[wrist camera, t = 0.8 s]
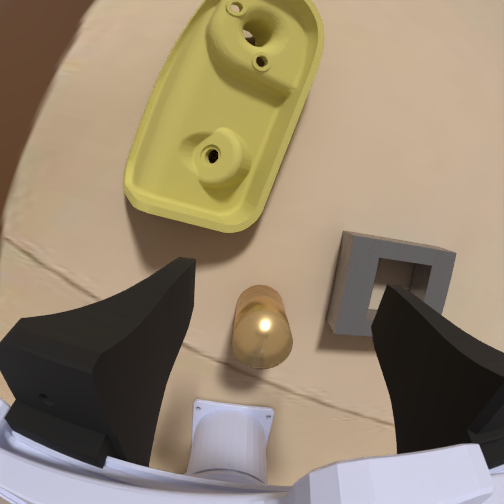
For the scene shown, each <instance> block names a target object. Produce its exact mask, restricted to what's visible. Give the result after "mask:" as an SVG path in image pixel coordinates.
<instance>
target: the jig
mask: <svg viewBox="0 0 504 504" xmlns="http://www.w3.org/2000/svg"><path fill="white" fill-rule="evenodd" d="M455 257H456V253H455V252H452V251H449V250H446V249H443V248H440V247H436V246H430V245H425V244H419V243H413V242H408V241H402V240H396V239H390V238H385V237H379V236H373V235H366V234H360V233H354V232H348V231H343V236H342V242H341V248H340V254H339V259H338V265H337V270H336V275H335V280H334V285H333V290H332V295H331V300H330V305H329V310H328V314H327V319H326V321H327V322H328V324H329V326H330V328H331V330H332V331H333V333H334V334H340V335H354V336H370V337H372V330H371V325H372V323H373V320H374V318H375V315H376V313H377V310H372V309H368V307H369V303H370V298H371V294H372V290H373V285H374V281H375V276H376V271H377V266H378V261H379V258H384V259H391V260H398V261H405V262H411V263H415V267H414V272H413V276H412V280H411V285H410V289H409V291H410V292H411V293H413V294H414V295H416V296H417V297H418V298H420V299H421V300H422V301H423V302H425V303H426V304H427V305H429V306H430V307H431V308H433V309H434V310H435V311H436V312H438V313H439V314H440V315H441V314H442V311H443V307H444V304H445V300H446V296H447V292H448V288H449V284H450V280H451V276H452V271H453V267H454V262H455Z"/></svg>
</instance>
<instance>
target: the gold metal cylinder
mask: <svg viewBox="0 0 504 504" xmlns="http://www.w3.org/2000/svg"><path fill="white" fill-rule="evenodd" d="M292 345H293V339H292V334H291V330H290V327H289V323H288V319H287V316H286V312H285V308H284V305H283V301H282V298H281V296H280V295H279V293H278V292H277V291H275V290H274V289H273V288H271V287H268V286H264V285H256V286H252V287H250V288H248V289H246V290H245V291H244V292H243V293H242V294H241V295H240V297H239V299H238V301H237V307H236V314H235V322H234V329H233V336H232V348H233V352H234V354H235V356H236V357H237V358H238V360H239V361H241V362H242V363H243V364H245V365H246V366H248V367H251V368H255V369H269V368H272V367H275V366H277V365H279V364H281V363H282V362H283V361H284V360H285V359H286V358H287V357H288V356H289V354H290V352H291V349H292Z"/></svg>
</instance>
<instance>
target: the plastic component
mask: <svg viewBox="0 0 504 504" xmlns="http://www.w3.org/2000/svg"><path fill="white" fill-rule="evenodd" d="M232 4H234V5H237V6H238V7H239V9H240V11H239V12H234V11H232V9H231V8H230V7H231V5H232ZM243 30H246V31H248V32H250V33H251V34H252V35H253V36H254V39H255V46H253V45H251V44H250V43H248V42H247V41H246V39H245V38H244V35H243ZM323 47H324V27H323V22H322V19H321V16H320V14H319V12H318V10H317V8H316V7H315V5H314V3H313V2H312V1H311V0H204V1H203V3H202V4H201V5H200V7H199V8H198V9H197V11H196V12H195V13H194V15H193V16H192V18H191V19H190V21H189V22H188V24H187V25H186V27H185V28H184V30H183V31H182V33H181V35H180V36H179V38H178V40H177V41H176V43H175V45H174V47H173V48H172V50H171V52H170V54H169V56H168V58H167V60H166V62H165V64H164V66H163V68H162V70H161V72H160V74H159V76H158V78H157V81H156V83H155V85H154V88H153V90H152V93H151V95H150V98H149V100H148V103H147V105H146V108H145V110H144V113H143V116H142V118H141V121H140V124H139V127H138V130H137V132H136V135H135V138H134V141H133V144H132V147H131V150H130V153H129V156H128V159H127V162H126V167H125V171H124V177H123V192H124V193H125V195H126V196H127V198H128V200H129V201H130V203H131V204H132V206H133V207H135V208H136V209H138V210H140V211H143V212H146V213H149V214H153V215H157V216H161V217H165V218H169V219H173V220H177V221H181V222H185V223H189V224H193V225H197V226H200V227H204V228H208V229H212V230H216V231H220V232H224V233H235V232H239V231H242V230H244V229H246V228H248V227H250V226H251V225H252V224H253V223H254V222H255V221H256V220H257V219H258V218H259V216H260V215H261V213H262V211H263V209H264V206H265V204H266V201H267V198H268V196H269V193H270V191H271V188H272V186H273V183H274V180H275V178H276V175H277V173H278V170H279V168H280V165H281V162H282V160H283V157H284V155H285V152H286V150H287V147H288V144H289V142H290V139H291V137H292V134H293V132H294V129H295V126H296V124H297V121H298V119H299V116H300V114H301V111H302V109H303V106H304V103H305V101H306V98H307V96H308V93H309V91H310V88H311V86H312V83H313V80H314V77H315V75H316V72H317V69H318V66H319V63H320V60H321V56H322V52H323ZM257 57H260V58H262V59H263V61H264V66H263V67H259V66H258V65H257V63H256V59H257ZM213 150H216V151H217V152H218V159H217V161H216V162H215V163H212V164H211V163H210V162H209V160H208V156H209V154H210V152H211V151H213Z"/></svg>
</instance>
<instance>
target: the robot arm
mask: <svg viewBox="0 0 504 504" xmlns="http://www.w3.org/2000/svg"><path fill="white" fill-rule="evenodd" d="M195 267H196V259H190V258H183V257H179V258H177V259H175V260H174V261H172V262H171V263H169V264H168V265H166V266H165V267H163V268H162V269H160V270H159V271H157V272H156V273H154V274H153V275H151V276H150V277H148V278H146V279H144V280H143V281H141V282H139V283H137V284H136V285H134V286H132V287H130V288H129V289H127V290H125V291H123V292H121V293H119V294H116V295H114V296H112V297H109V298H107V299H105V300H102V301H99V302H96V303H93V304H90V305H87V306H84V307H81V308H78V309H74V310H70V311H66V312H61V313H56V314H51V315H44V316H36V317H28V318H21V319H20V320H19V321H18V322H17V323H16V324H15V326H14V327H13V328H12V329H11V330H10V331H9V332H8V334H7V335H6V336H5V337H4V338H3V339H2V341H1V342H0V371H1V373H2V375H3V377H4V379H5V380H6V382H7V384H8V386H9V388H10V390H11V391H12V393H13V395H14V397H15V399H16V400H15V402H14V403H13V405H12V406H11V407H10V405H8V404H7V403H6V402H5V401H4V400H2V399H1V398H0V497H2V498H3V499H5V500H7V501H8V502H10V503H11V504H504V353H503V352H501V351H499V350H497V349H495V348H493V347H491V346H489V345H487V344H485V343H483V342H481V341H479V340H477V339H476V338H474V337H472V336H471V335H469V334H468V333H466V332H464V331H463V330H461V329H460V328H458V327H457V326H455V325H454V324H453V323H451V322H450V321H448V320H447V319H446V318H444V317H443V316H442V315H440V314H439V313H438V312H436V311H435V310H434V309H433V308H431V307H430V306H429V305H427V304H426V303H425V302H423V301H422V300H421V299H420V298H418V297H417V296H416V295H414V294H413V293H411V292H410V291H408V290H407V289H405V288H403V287H402V286H396V285H388V284H387V286H386V289H385V292H384V294H383V297H382V300H381V302H380V305H379V308H378V310H377V313H376V315H375V318H374V320H373V323H372V325H371V330H372V337H373V342H374V347H375V351H376V354H377V357H378V360H379V363H380V366H381V370H382V373H383V376H384V379H385V382H386V385H387V388H388V391H389V395H390V399H391V403H392V409H393V416H394V422H395V431H396V442H397V454H394V455H384V456H372V457H362V458H356V459H350V460H343V461H337V462H334V463H331V464H328V465H325V466H322V467H319V468H316V469H313V470H312V471H310V472H309V473H308V474H306V475H305V476H303V477H302V478H301V479H299V480H298V481H297V482H296V483H295V484H294V485H293V486H273V485H268V483H267V462H266V446H267V442H268V438H269V433H270V429H271V425H272V421H273V417H274V410H273V409H272V408H266V407H256V406H246V405H237V404H229V403H221V402H214V401H207V400H201V399H197V400H195V401H194V405H193V424H192V446H191V453H190V458H189V462H188V467H187V471H186V473H183V475H181V474H176V473H171V472H166V471H162V470H157V469H153V468H149V461H150V455H151V450H152V445H153V440H154V435H155V430H156V425H157V421H158V416H159V412H160V408H161V404H162V400H163V396H164V392H165V388H166V384H167V381H168V378H169V375H170V372H171V370H172V367H173V365H174V362H175V360H176V357H177V355H178V352H179V350H180V347H181V345H182V343H183V340H184V338H185V335H186V333H187V330H188V327H189V323H190V320H191V316H192V312H193V308H194V289H195ZM197 407H200V408H197ZM267 415H270V416H269V417H267Z"/></svg>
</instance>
